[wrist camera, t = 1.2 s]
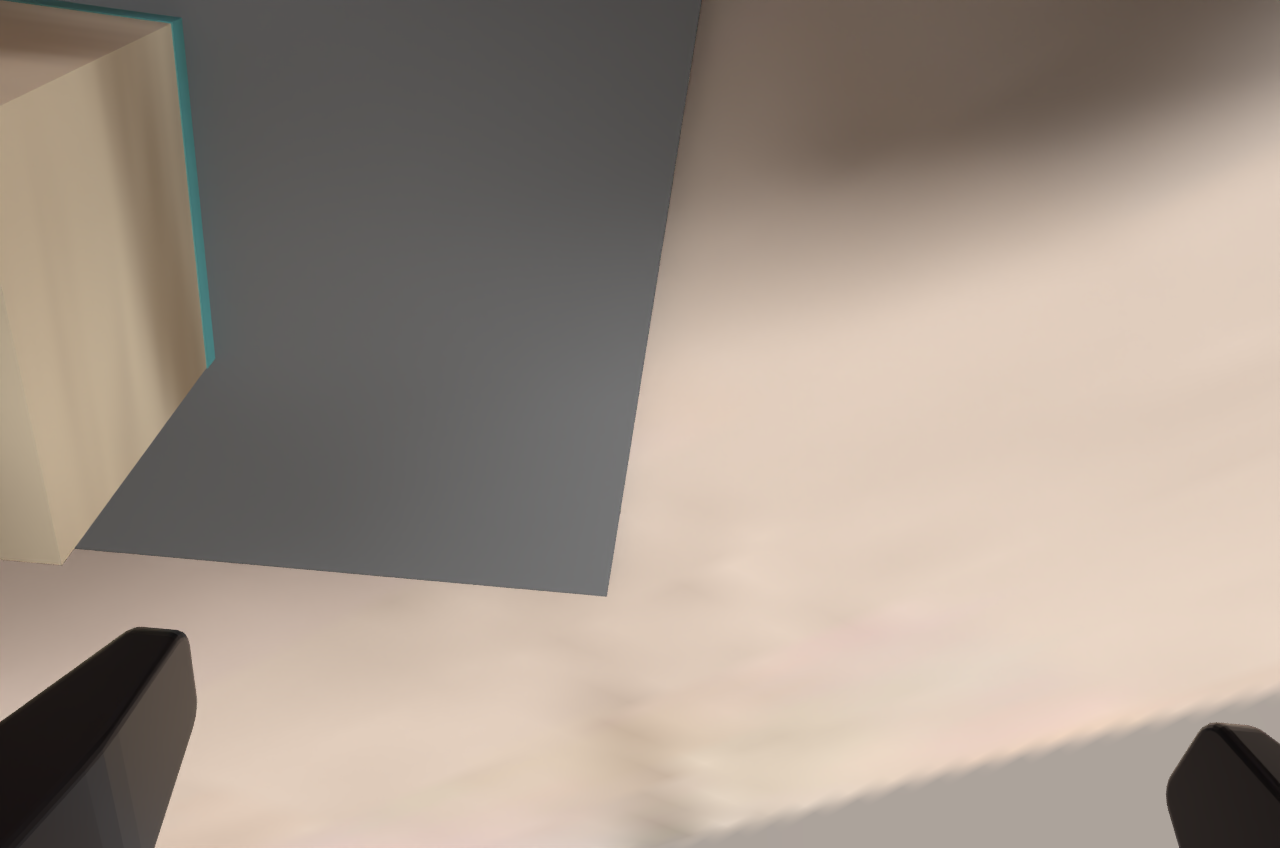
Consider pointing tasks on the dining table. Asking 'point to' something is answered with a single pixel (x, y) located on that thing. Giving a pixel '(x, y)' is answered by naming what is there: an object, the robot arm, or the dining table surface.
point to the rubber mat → (417, 285)
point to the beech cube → (92, 260)
